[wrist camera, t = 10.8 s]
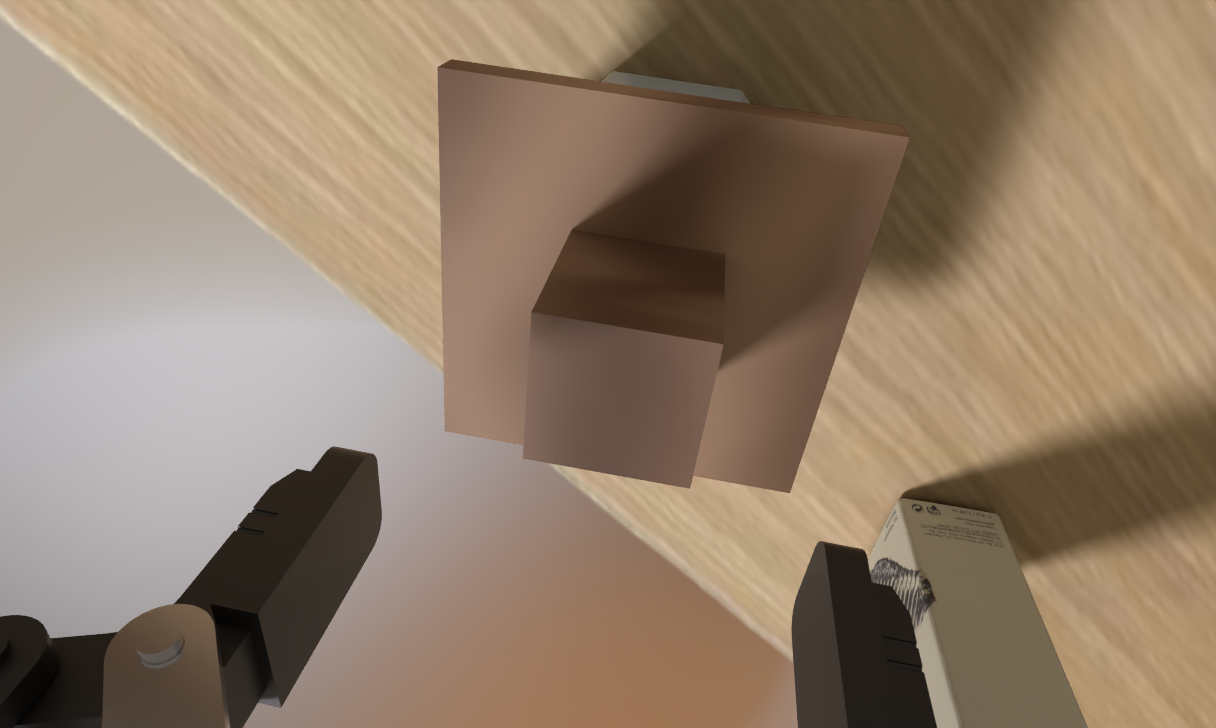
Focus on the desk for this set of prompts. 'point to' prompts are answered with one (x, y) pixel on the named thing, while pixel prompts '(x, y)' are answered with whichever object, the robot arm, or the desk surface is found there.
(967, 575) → the box
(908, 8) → the desk surface
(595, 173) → the lid
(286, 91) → the desk surface
